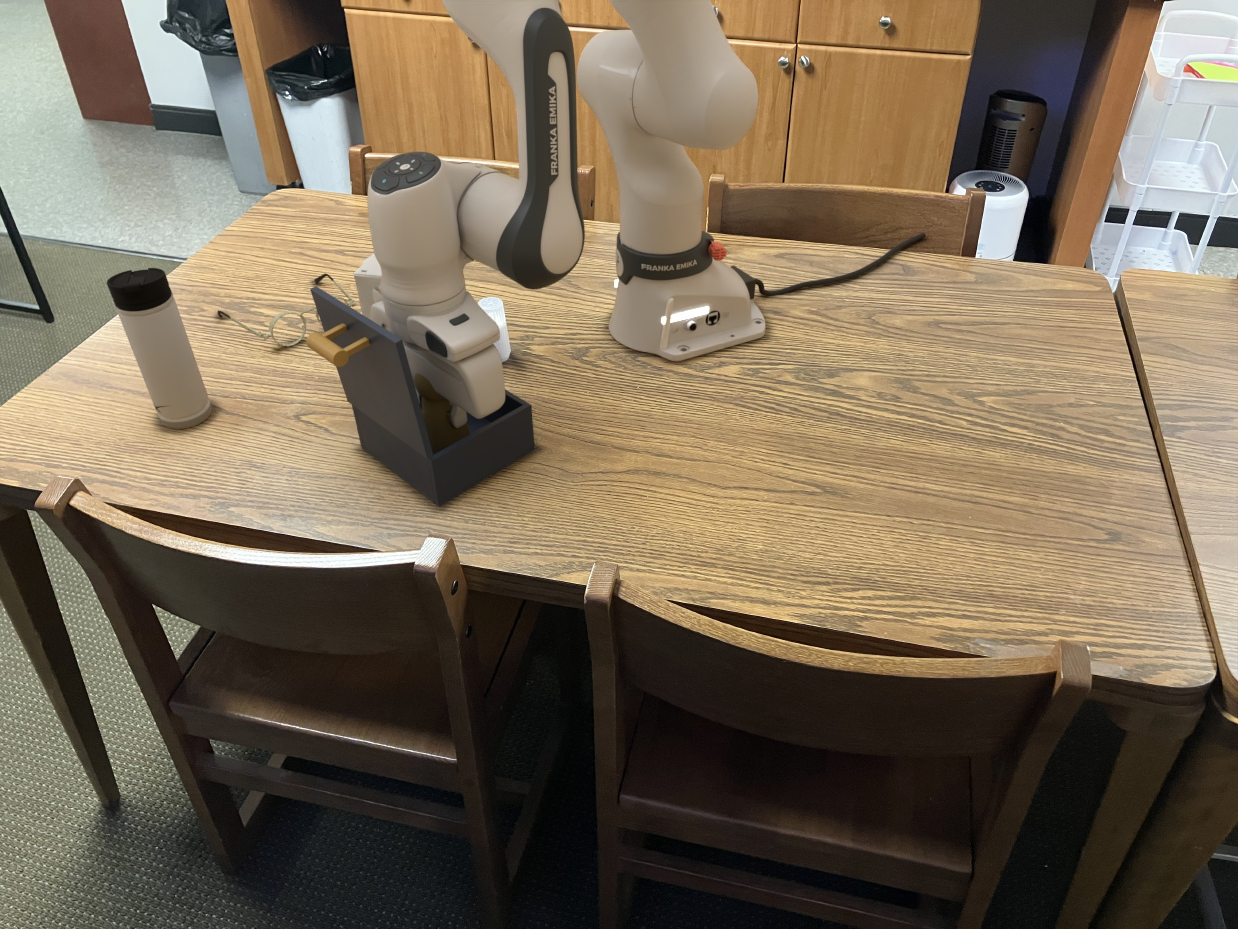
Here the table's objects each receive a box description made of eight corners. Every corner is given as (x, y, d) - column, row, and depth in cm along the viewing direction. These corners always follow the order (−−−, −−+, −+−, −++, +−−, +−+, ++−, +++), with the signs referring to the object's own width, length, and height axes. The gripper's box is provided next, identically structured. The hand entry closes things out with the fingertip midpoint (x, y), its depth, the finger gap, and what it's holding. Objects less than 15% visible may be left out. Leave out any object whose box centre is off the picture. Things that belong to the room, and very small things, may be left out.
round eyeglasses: (259, 358, 128) (250, 327, 125) (214, 317, 137) (204, 286, 134) (368, 316, 137) (362, 286, 134) (319, 280, 146) (312, 250, 143)
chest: (455, 399, 121) (449, 355, 116) (535, 450, 112) (531, 404, 108) (361, 448, 113) (351, 403, 108) (439, 507, 104) (431, 460, 100)
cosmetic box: (418, 385, 123) (400, 279, 113) (371, 380, 124) (349, 274, 114) (440, 352, 129) (424, 248, 120) (395, 347, 130) (376, 244, 121)
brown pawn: (448, 423, 115) (437, 347, 108) (483, 442, 112) (473, 365, 105) (411, 446, 112) (397, 369, 105) (445, 466, 109) (433, 388, 102)
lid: (316, 285, 98) (272, 307, 95) (402, 339, 90) (357, 364, 87) (353, 398, 108) (315, 420, 106) (433, 455, 100) (394, 481, 97)
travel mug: (157, 435, 115) (99, 290, 102) (163, 405, 120) (108, 263, 107) (211, 426, 116) (160, 282, 103) (214, 397, 121) (166, 256, 108)
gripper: (348, 287, 104) (369, 389, 113) (462, 356, 93) (476, 463, 102) (394, 268, 108) (412, 369, 116) (510, 332, 97) (519, 438, 105)
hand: (442, 413), depth 109 cm, fingers closed on brown pawn, 4 cm apart
